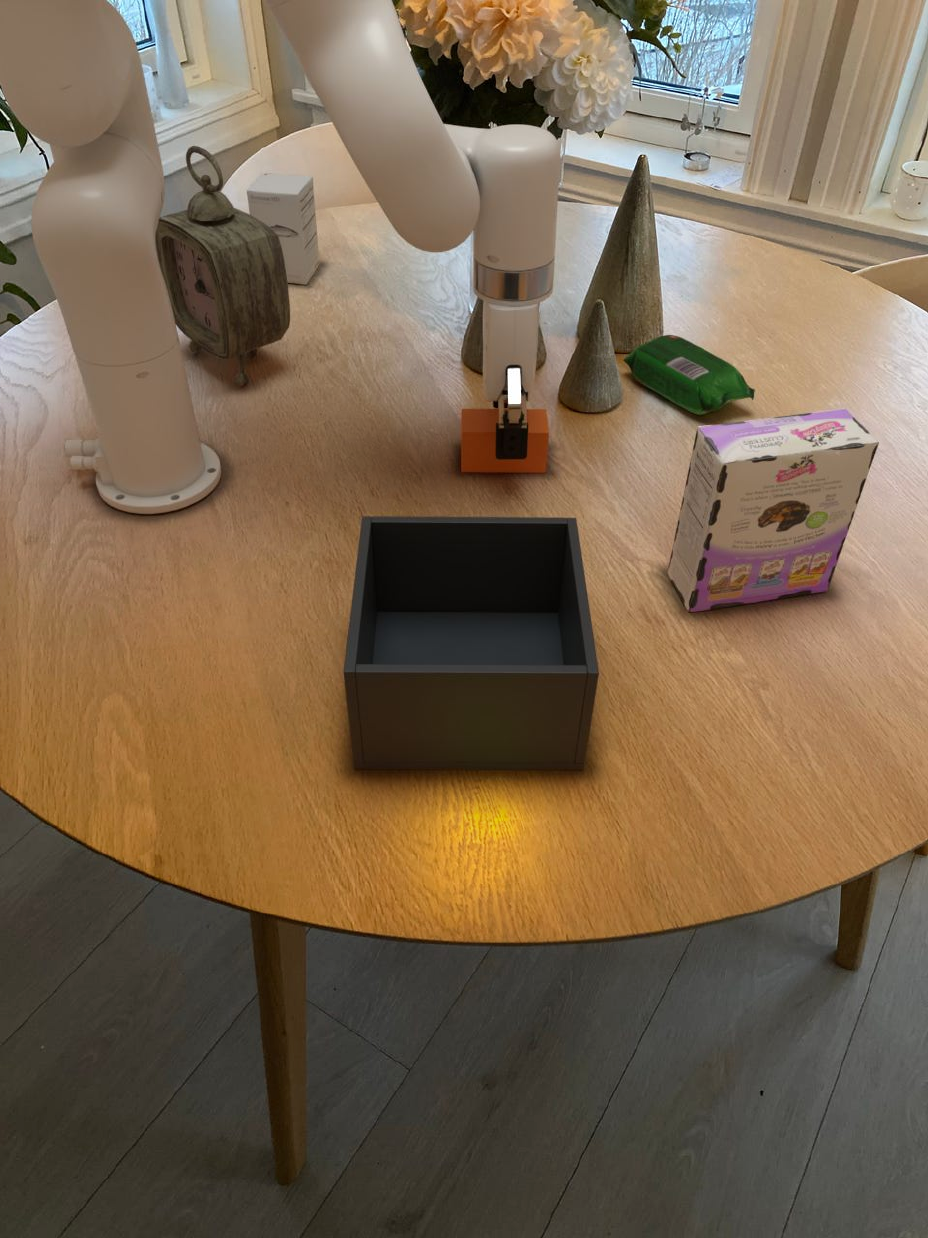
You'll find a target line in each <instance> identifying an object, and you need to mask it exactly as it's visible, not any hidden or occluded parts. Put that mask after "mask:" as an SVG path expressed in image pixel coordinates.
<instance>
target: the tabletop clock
mask: <svg viewBox="0 0 928 1238" xmlns="http://www.w3.org/2000/svg"><path fill="white" fill-rule="evenodd" d="M193 154H199V155H200V156H202V157H204V158H205V159H207V160H208V162H209V163H210V164H211V165H212V167H213V169H214V171H215V172H216V175H217V177H218V183H217V185H213V183H212V178H211V176H210V175H209V174H203V175H202V176H201V177H200V176H199V175H198V174H197V172H196V171H195V170H194V169H193V166H192V161H191V158H192V155H193ZM185 162H186V166H187V169H188V172H189V174H190V176H191V178H192V179H193V180H194V181H195V183H196V184H197V185H199V186H200V187H201V188H202V190H200V191H197V192H196V193H195V194H194V195H193V196H192V197H191V198H190V199H189V202H188V204H187V209H184V210H180V211H177V212H174V213H170V214H167V215H163V216H160V218H159V222H158V227H157V230H156V235H155V242H156V250H157V256H158V261H159V265H160V268H161V272H162V275H163V278H164V281H165V284H166V288H167V291H168V294H169V298H170V302H171V306H172V310H173V314H174V319H175V324H176V328H178V329H179V331H181V332H182V334H183V335H184V336H185V337H187V338H188V339H189V340H190V342H189V343H188V350H189V351H190V352H191V353H192V354H196V355H197V354H200V353H201V352H202V350H203V351H206V352H207V353H209V354H210V355H212V356H213V357H215V358H218V359H220V360H224V361H225V360H231V359H233V358H236V357H237V360H238V368H239V373H237V374H236V375H235V383H236V384H237V386H239V387H242V388H243V387H246V386H247V385H248V384H249V383H250V376H249V374H247V373H246V372H245V371H246V370H245V369H246V357H248V358H249V359H254V358H256V357H257V355H258V352H259V351H258V349H260V348H262V347H265V346H268V345H271V344H273V343H276V342H278V341H281V340H282V339H283V338H284V336H285V334H286V332H287V331H288V329H289V328H290V325H291V324H290V323H291V305H290V304H291V303H290V294H289V283H288V282H287V275H286V268H285V262H284V256H283V251H282V247H281V243H280V240H279V237H278V235H277V234H276V233H275V232H274V230H273V229H272V228H271V227H269V226H268V225H266V224H265V223H263V222H262V221H260V220H258V219H257V218H255V217H253V216H252V215H250V213H248V212H245V211H242V210H240V209H238V208H236V207H234V205H233V203H232V202H231V200H230V199H229V198H228V196H227V195H226V194H224V193H223V192H222V191H221V190H222V188H223V186H224V177H223V172H222V170H221V166H220V165H219V163H218V161H217V159H216V158H215V156H214V155H212V153H210V152H209V151H208V150H207V149H205V148H202V147H201V146H199V145H198V146H197V145H192V146H190V147H188V148H187V151H186V153H185Z"/></svg>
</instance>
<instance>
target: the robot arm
mask: <svg viewBox="0 0 928 1238" xmlns="http://www.w3.org/2000/svg"><path fill="white" fill-rule="evenodd" d="M263 2H264V3H265V5H266V7H267V9H268V10H269V12H270V14H271V15H272V17H273V18H274V21H275V23H276V24H277V25H278V27H279V29H280V30H281V33H282V34H283V35H284V37H285V39H286V41H287V42H288V44H289V46H290V48H291V50H292V51H293V53H294V55H295V57H296V59H297V61H298V63H299V66H300V67H301V69H302V71H303V73H304V75H305V77H306V79H307V81H308V83H309V85H310V86H311V88H312V90H313V91H314V93H315V94H316V96H317V98H318V99H319V101H320V103H321V104H322V106H323V109H324V110H325V112H326V114H327V116H328V118H329V119H330V121H331V124H332V125H333V126H334V128H335V130H336V132H337V135H338V136H339V138H340V140H341V142H342V144H343V145H344V147H345V149H346V151H347V153H348V154H349V156H350V158H351V161H352V162H353V163H354V165H355V167H356V169H357V170H358V172H359V173H360V176H361V177H362V179H363V180H364V182H365V184H366V186H367V187H368V189H369V190H370V192H371V193H372V195H373V197H374V199H375V200H376V202H377V203H378V205H379V207H380V209H381V210H382V212H383V213H384V215H385V217H386V218H387V220H388V221H389V223H390V224H391V226H392V227H393V229H394V230H395V232H396V233H397V234H398V235H399V236H400V237H401V238H402V240H404V241H405V242H407V244H408V245H410V246H412V247H413V248H415V249H418V250H420V251H423V252H427V253H435V254H436V253H445V252H448V251H451V250H454V249H455V248H458V247H459V246H460V245H462V244H463V243H464V242H465V241H466V240H467V239H468V238H469V237H470V236H471V234H472V241H473V242H472V244H473V245H472V247H473V248H472V253H473V254H472V256H473V257H472V258H473V259H472V260H473V261H472V263H473V264H472V266H473V268H472V275H473V276H472V277H473V278H472V279H473V281H472V282H473V285H472V286H473V287H472V289H473V293H474V295H475V296H476V297H477V298H479V300H482V301H483V304H482V305H483V306H482V383H483V384H482V387H483V389H482V390H483V398H484V400H486V401H487V402H488V403H491V402H492V407H493V409H498V411H499V423H496V450H495V454H496V458H497V459H499V460H502V459H526V458H527V447H528V423H527V409H528V407H527V402H530V401H531V400H532V399H533V397H534V392H535V391H534V390H535V382H536V372H537V371H536V370H537V361H538V360H537V359H538V345H539V328H540V310H541V309H540V306H541V303H542V302H543V301H545V300H548V298H550V297H551V295H552V294H553V293H554V292H553V291H554V279H555V278H554V276H555V259H556V256H555V255H556V239H557V222H558V221H557V220H558V206H559V205H558V204H559V188H560V187H559V186H560V183H559V182H560V171H561V169H560V168H561V148H560V144H559V142H558V140H557V138H556V136H555V135H554V134H553V133H552V132H550V131H549V130H547V129H545V128H542V127H539V126H534V125H531V124H505V125H498V126H495V127H492V128H478V127H471V126H470V127H469V126H462V125H454V124H448V123H444V122H443V121H442V119H441V117H440V115H439V112H438V110H437V108H436V106H435V104H434V103H433V100H432V99H431V96H430V94H429V92H428V90H427V88H426V86H425V84H424V82H423V80H422V77H421V75H420V72H419V71H418V68H417V66H416V64H415V61H414V59H413V56H412V54H411V52H410V49H409V45H408V43H407V41H406V37H405V35H404V31H403V29H402V24H401V21H400V18H399V16H398V12H397V10H396V7H395V5H394V2H393V0H263ZM138 48H139V47H138V46H137V43H136V40H135V38H134V35H133V32H132V30H131V28H130V27H129V25H128V23H127V22H126V19H125V18H124V17H123V16H122V14H121V13H120V12H119V11H118V9H117V8H116V7H115V6H114V5H113V4H112V3H111V2H110V1H109V0H0V89H1V91H2V94H3V96H4V98H5V100H6V102H7V105H8V107H9V109H10V111H11V112H12V114H13V115H14V116H15V118H16V119H17V121H18V122H19V123H20V125H21V126H23V128H25V130H27V131H28V132H29V133H30V134H31V135H32V136H34V137H35V138H37V139H38V140H40V141H42V142H44V143H46V144H48V145H49V148H50V152H51V155H52V158H53V162H52V163H51V165H50V166H49V168H48V170H47V172H46V173H45V175H44V177H43V178H42V181H41V183H40V184H39V186H38V189H37V190H36V193H35V197H34V200H33V204H32V205H33V206H32V209H31V210H32V211H31V233H32V239H33V245H34V247H35V251H36V254H37V257H38V260H39V262H40V265H41V266H42V268H43V271H44V273H45V275H46V277H47V280H48V282H49V284H50V287H51V288H52V291H53V293H54V296H55V298H56V301H57V303H58V306H59V309H60V312H61V316H62V318H63V322H64V325H65V327H66V331H67V335H68V337H69V342H70V345H71V348H72V350H73V353H74V356H75V361H76V364H77V367H78V370H79V374H80V377H81V381H82V385H83V388H84V391H85V394H86V398H87V401H88V404H89V408H90V412H91V415H92V418H93V422H94V425H95V429H96V433H97V437H96V438H95V440H93V439H91V440H90V439H89V440H88V439H87V440H86V439H66V440H65V441H64V454H65V456H66V458H68V459H69V463H70V464H69V465H70V468H71V469H72V470H94V471H95V472H96V475H95V485H96V489H97V491H98V495H99V496H100V497H101V499H102V500H103V501H104V502H105V503H106V504H108V505H109V506H110V507H113V508H115V509H117V510H119V511H123V512H127V513H132V514H140V515H155V514H164V513H169V512H173V511H178V510H181V509H184V508H187V507H189V506H191V505H194V504H196V503H198V502H199V501H201V500H202V499H204V498H206V497H207V496H208V495H209V494H211V492H213V490H214V489H215V488H216V487H217V485H218V484H219V482H220V479H221V477H222V466H221V465H222V464H221V460H220V458H219V456H218V454H217V453H216V452H215V450H214V449H213V448H211V447H210V446H208V445H207V444H205V443H202V442H201V437H200V434H199V429H198V424H197V419H196V414H195V410H194V405H193V399H192V395H191V390H190V385H189V381H188V376H187V372H186V371H187V370H186V366H185V361H184V357H183V352H182V347H181V342H180V337H179V333H178V329H177V325H176V324H175V319H174V314H173V310H172V306H171V302H170V298H169V294H168V291H167V288H166V284H165V281H164V278H163V275H162V272H161V268H160V265H159V261H158V256H157V250H156V242H155V235H156V230H157V227H158V222H159V218H160V217H161V214H162V211H163V207H164V203H165V194H166V193H165V192H166V184H165V183H166V182H165V174H164V169H163V162H162V158H161V152H160V147H159V142H158V137H157V133H156V128H155V122H154V119H153V118H154V117H153V113H152V108H151V103H150V98H149V94H148V87H147V83H146V78H145V73H144V69H143V63H142V59H141V56H140V52H139V49H138ZM504 409H508V411H505V414H504Z"/></svg>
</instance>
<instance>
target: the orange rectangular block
mask: <svg viewBox="0 0 928 1238" xmlns="http://www.w3.org/2000/svg"><path fill="white" fill-rule="evenodd" d="M505 411H508V408H507V409H504V414H505ZM496 423H499V411H498V409H496V408H461V428H460V430H461V432H460V434H461V435H460V439H461V440H460V451H461V452H460V466H461V467H460V468H461V469H460V472H461V473H505V474H507V473H509V474H510V473H512V474H514V473H517V474H520V473H523V474H524V473H526V474H528V473H529V474H530V473H531V474H532V473H533V474H546V472H547V462H548V451H549V439H550V429H549V428H550V427H549V421H548V413H547V409H546V408H527V423H528V447H527V458H526V459H502V460H499V459H497V458H496V454H495V450H496Z"/></svg>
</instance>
